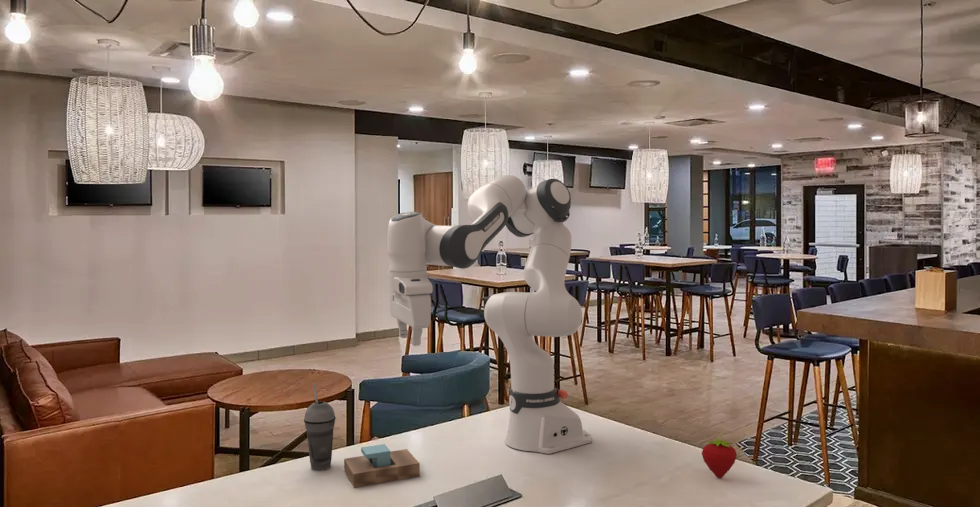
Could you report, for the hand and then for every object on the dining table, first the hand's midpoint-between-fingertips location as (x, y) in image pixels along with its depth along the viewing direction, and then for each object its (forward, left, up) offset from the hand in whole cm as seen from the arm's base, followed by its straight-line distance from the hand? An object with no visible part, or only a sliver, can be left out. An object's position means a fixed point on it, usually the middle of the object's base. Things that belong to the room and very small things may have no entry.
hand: (409, 341), depth 154 cm
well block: (+8, +2, -30) cm, 31 cm away
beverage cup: (+20, -8, -30) cm, 37 cm away
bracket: (+9, +2, -30) cm, 31 cm away
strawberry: (-60, +36, -30) cm, 76 cm away
